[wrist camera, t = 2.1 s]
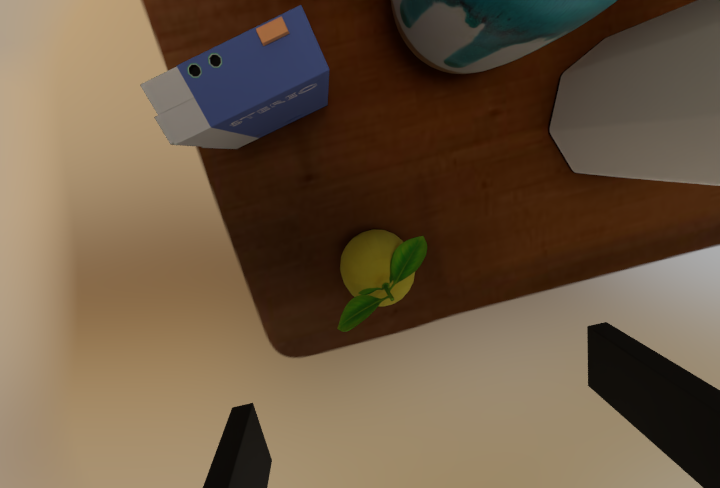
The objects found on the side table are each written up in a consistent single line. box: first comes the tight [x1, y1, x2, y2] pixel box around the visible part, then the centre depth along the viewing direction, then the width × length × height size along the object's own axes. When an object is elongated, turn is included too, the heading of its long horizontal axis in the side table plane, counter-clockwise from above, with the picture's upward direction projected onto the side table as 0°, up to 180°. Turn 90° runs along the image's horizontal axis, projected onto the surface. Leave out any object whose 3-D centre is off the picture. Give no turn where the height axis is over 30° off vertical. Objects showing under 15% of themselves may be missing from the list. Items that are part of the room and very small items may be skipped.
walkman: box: [141, 5, 329, 149], centre depth 20 cm, size 8×3×12 cm, turn 115°
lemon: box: [338, 229, 427, 332], centre depth 25 cm, size 7×6×10 cm
